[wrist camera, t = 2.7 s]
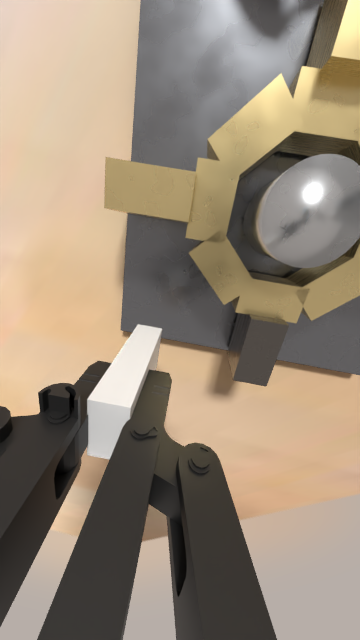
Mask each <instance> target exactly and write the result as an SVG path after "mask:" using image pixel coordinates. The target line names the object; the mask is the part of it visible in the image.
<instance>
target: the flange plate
mask: <svg viewBox="0 0 360 640" xmlns="http://www.w3.org/2000/svg"><path fill="white" fill-rule="evenodd" d="M323 3H324V0H141V6H140V22H139V39H138V55H137V72H136V88H135V104H134V121H133V137H132V154H131V161H132V162H138V163H144V164H150V165H157V166H163V167H169V168H175V169H181V170H187V171H194V172H196V167H197V160H198V158H205V159H208V158H207V139H208V138H209V137H210V136H212V135H213V134H214V133H215V132H216V131H217V130H218V129H219V128H221V127H222V126H223V125H224V124H225V123H226V122H227V121H228V120H229V119H231V118H232V117H233V116H234V115H235V114H236V113H237V112H238V111H240V110H241V109H242V108H243V107H244V106H245V105H246V104H247V103H248V102H250V101H251V100H252V99H253V98H254V97H255V96H256V95H257V94H259V93H260V92H261V91H262V90H263V89H264V88H265V87H266V86H267V85H269V84H270V83H271V82H272V81H273V80H274V79H275V78H276V77H277V76H279V75H280V74H282V76H283V78H284V80H285V83H286V85H287V87H288V89H289V87H290V85H291V83H292V82H293V80H294V78H295V77H296V75H297V73H298V72H299V70H300V68H301V67H302V66H306V65H307V61H308V58H309V54H310V50H311V47H312V43H313V40H314V36H315V32H316V29H317V25H318V21H319V18H320V14H321V11H322V7H323ZM187 224H188V223H182V222H176V221H170V220H165V219H159V218H153V217H147V216H141V215H135V214H129V213H128V219H127V236H126V252H125V269H124V285H123V302H122V318H121V330H122V331H127V332H133V331H134V329H135V328H136V326H137V325H138V324H139V325H145V326H151V327H156V328H162V334H161V338H165V339H170V340H175V341H181V342H186V343H191V344H197V345H202V346H207V347H213V348H218V349H223V350H228V348H229V344H230V341H231V337H232V333H233V330H234V326H235V322H236V319H237V315H238V313H236V312H235V310H234V308H233V305H232V302H231V301H230V302H228V303H227V304H225V305H224V304H223V303H222V301H221V300H220V299H219V297H218V296H217V294H216V293H215V291H214V290H213V288H212V287H211V285H210V284H209V282H208V281H207V279H206V278H205V276H204V275H203V274H202V272H201V271H200V269H199V268H198V266H197V265H196V263H195V262H194V260H193V259H192V257H191V256H190V254H189V252H190V250H191V249H192V248H194V247H195V246H196V245H198V244H199V243H200V242H202V241H201V240H195V239H189V238H185V237H186V231H187ZM226 237H227V238H228V240H229V242H230V243H231V245H232V247H233V248H234V250H235V251H236V253H237V255H238V256H239V258H240V259H241V261H242V263H243V264H244V266H245V268H246V269H247V271H248V272H254V273H259V274H265V275H271V276H276V277H282V278H287V277H289V276H291V275H292V274H294V273H296V272H297V271H299V270H300V269H302V268H312V267H318V266H321V265H324V264H327V263H330V262H331V261H333V260H335V259H337V258H339V257H340V256H342V255H343V254H344V253H345V252H347V251H348V250H349V249H350V248H351V247H352V246H353V245H354V244H355V243H356V241H357V240H358V239H359V237H360V166H359V165H358V164H357V163H356V162H355V161H353V160H352V159H350V158H347V157H345V156H342V155H338V154H320V155H316V156H306V155H300V154H294V153H287V152H281V151H276V152H274V153H273V154H272V155H271V156H269V157H268V158H267V159H266V160H264V161H263V162H262V163H260V164H259V165H258V166H257V167H255V168H254V169H253V170H252V171H250V172H249V173H248V174H247V175H245V176H244V177H243V178H242V179H240V180H239V181H238V184H237V189H236V193H235V198H234V202H233V207H232V211H231V216H230V220H229V225H228V229H227V234H226ZM287 324H288V325H289V328H288V330H287V333H286V336H285V338H284V341H283V344H282V346H281V349H280V351H279V354H278V357H277V360H282V361H287V362H293V363H298V364H303V365H309V366H314V367H319V368H325V369H330V370H335V371H340V372H346V373H351V374H356V375H360V296H358V297H356V298H354V299H352V300H350V301H348V302H346V303H344V304H343V305H341V306H339V307H337V308H335V309H333V310H331V311H329V312H327V313H325V314H324V315H322V316H320V317H318V318H316V319H314V320H312V321H311V320H309V319H308V318H307V317H306V316H305V315H303V314H302V313H300V316H299V318H298V321H297V323H291V322H287Z"/></svg>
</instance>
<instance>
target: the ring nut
mask: <svg viewBox="0 0 360 640" xmlns="http://www.w3.org/2000/svg"><path fill="white" fill-rule="evenodd" d="M276 151H281V152H287V153H294V154H300V155H306V156H316V155H320V154H338V155H342V156H345V157H347V158H350V159H352V160H353V161H355V162H356V163H357V164H358V165H359V166H360V0H324V3H323V7H322V11H321V14H320V18H319V21H318V25H317V29H316V32H315V36H314V40H313V43H312V47H311V50H310V54H309V58H308V61H307V65H306V66H302V67H301V68H300V70H299V72H298V73H297V75H296V77H295V78H294V80H293V82H292V83H291V85H290V87H289V89H288V87H287V85H286V83H285V80H284V78H283V76H282V74H280V75H279V76H277V77H276V78H275V79H274V80H273V81H272V82H271V83H270V84H269V85H267V86H266V87H265V88H264V89H263V90H262V91H261V92H260V93H259V94H257V95H256V96H255V97H254V98H253V99H252V100H251V101H250V102H248V103H247V104H246V105H245V106H244V107H243V108H242V109H241V110H240V111H238V112H237V113H236V114H235V115H234V116H233V117H232V118H231V119H229V120H228V121H227V122H226V123H225V124H224V125H223V126H222V127H221V128H219V129H218V130H217V131H216V132H215V133H214V134H213V135H212V136H210V137H209V138H208V139H207V158H208V159H205V158H198V160H197V167H196V172H194V171H187V170H181V169H175V168H169V167H163V166H157V165H150V164H144V163H138V162H132V161H126V160H120V159H113V158H107V157H106V165H105V206H104V208H107V209H111V210H116V211H120V212H124V213H129V214H135V215H141V216H147V217H153V218H159V219H165V220H170V221H176V222H182V223H188V224H187V231H186V237H185V238H189V239H195V240H201V241H202V242H200V243H199V244H198V245H196V246H195V247H194V248H192V249H191V250H190V252H189V254H190V256H191V257H192V259H193V260H194V262H195V263H196V265H197V266H198V268H199V269H200V271H201V272H202V274H203V275H204V276H205V278H206V279H207V281H208V282H209V284H210V285H211V287H212V288H213V290H214V291H215V293H216V294H217V296H218V297H219V299H220V300H221V301H222V303H223V304H224V305H225V304H227V303H228V302H230V301H231V302H232V305H233V308H234V310H235V312H236V313H238V315H237V319H236V322H235V326H234V330H233V333H232V337H231V341H230V344H229V348H228V351H227V353H228V358H229V363H230V368H231V373H232V379H233V380H235V381H240V382H246V383H251V384H256V385H261V386H267V383H268V380H269V378H270V375H271V373H272V370H273V367H274V365H275V362H276V359H277V357H278V354H279V351H280V349H281V346H282V344H283V341H284V338H285V336H286V333H287V330H288V328H289V325H288V324H287V322H291V323H297V321H298V318H299V316H300V313H302V314H303V315H305V316H306V317H307V318H308V319H309V320H311V321H312V320H314V319H316V318H318V317H320V316H322V315H324V314H325V313H327V312H329V311H331V310H333V309H335V308H337V307H339V306H341V305H343V304H344V303H346V302H348V301H350V300H352V299H354V298H356V297H358V296H360V237H359V239H358V240H357V241H356V243H355V244H354V245H353V246H352V247H351V248H350V249H349V250H348V251H347V252H345V253H344V254H343V255H342V256H340V257H339V258H337V259H335V260H333V261H331V262H330V263H327V264H324V265H321V266H318V267H312V268H302V269H300V270H299V271H297V272H296V273H294V274H292V275H291V276H289V277H287V278H282V277H276V276H271V275H265V274H259V273H254V272H248V271H247V269H246V268H245V266H244V264H243V263H242V261H241V259H240V258H239V256H238V255H237V253H236V251H235V250H234V248H233V247H232V245H231V243H230V242H229V240H228V238H227V237H226V234H227V229H228V225H229V220H230V216H231V211H232V207H233V202H234V198H235V193H236V189H237V184H238V181H239V180H240V179H242V178H243V177H244V176H245V175H247V174H248V173H249V172H250V171H252V170H253V169H254V168H255V167H257V166H258V165H259V164H260V163H262V162H263V161H264V160H266V159H267V158H268V157H269V156H271V155H272V154H273V153H274V152H276Z"/></svg>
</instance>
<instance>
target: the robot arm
mask: <svg viewBox="0 0 360 640" xmlns="http://www.w3.org/2000/svg"><path fill="white" fill-rule="evenodd" d="M161 334H162V328H156V327H151V326H145V325H139V324H138V325H137V326H136V328H135V329H134V331H133V332H132V334H131V335H130V337H129V338H128V340H127V341H126V343H125V344H124V346H123V347H122V349H121V350H120V352H119V353H118V355H117V356H116V358H115V359H114V361H113V362H112V363H108V362H102V361H97V362H96V363H94V364H92V365H90V366H89V367H88V369H87V370H86V371H85V372H84V374H83V375H82V376H81V377H80V378H79V380H78V381H77V382H76V383H75V384H74V385H72V384H69V383H59V384H53V385H50V386H48V387H46V388H44V389H42V390H41V391H40V392H38V395H39V404H40V413H39V414H37V415H30V416H17V417H11V415H10V411H9V410H8V409H7V408H6V407H2V406H0V626H1V625H2V622H3V621H4V619H5V616H6V615H7V613H8V611H9V609H10V607H11V605H12V603H13V601H14V599H15V597H16V595H17V593H18V591H19V589H20V587H21V585H22V583H23V581H24V579H25V577H26V575H27V573H28V571H29V569H30V567H31V565H32V563H33V561H34V559H35V557H36V555H37V553H38V551H39V549H40V547H41V545H42V543H43V541H44V539H45V537H46V535H47V533H48V531H49V529H50V527H51V526H52V524H53V522H54V520H55V518H56V516H57V514H58V512H59V510H60V508H61V506H62V504H63V502H64V500H65V498H66V496H67V494H68V492H69V490H70V488H71V486H72V484H73V482H74V480H75V478H76V476H77V474H78V472H79V470H80V466H81V457H82V455H83V453H84V451H85V449H86V447H87V455H90V456H95V457H100V458H105V459H110V460H109V462H108V465H107V467H106V470H105V472H104V475H103V477H102V480H101V482H100V485H99V487H98V490H97V492H96V495H95V497H94V500H93V502H92V505H91V507H90V510H89V512H88V515H87V517H86V520H85V522H84V525H83V527H82V530H81V532H80V535H79V537H78V540H77V542H76V544H75V547H74V550H73V552H72V555H71V557H70V560H69V562H68V564H67V567H66V569H65V572H64V574H63V577H62V579H61V582H60V584H59V587H58V589H57V592H56V594H55V597H54V599H53V602H52V604H51V607H50V609H49V612H48V614H47V617H46V619H45V622H44V624H43V627H42V629H41V632H40V634H39V636H38V639H37V640H123V635H124V630H125V625H126V620H127V614H128V609H129V603H130V599H131V594H132V588H133V583H134V578H135V573H136V567H137V563H138V557H139V552H140V546H141V542H142V537H143V532H144V526H145V521H146V516H147V511H148V506H149V504H150V505H151V506H153V507H154V508H156V509H157V510H159V511H160V512H162V513H163V514H165V515H166V516H167V526H168V539H169V551H170V564H171V577H172V589H173V602H174V615H175V628H176V640H277V638H276V635H275V632H274V629H273V626H272V623H271V620H270V616H269V613H268V610H267V607H266V604H265V601H264V598H263V595H262V591H261V588H260V585H259V582H258V579H257V576H256V573H255V570H254V566H253V563H252V560H251V557H250V554H249V550H248V547H247V544H246V541H245V538H244V535H243V532H242V529H241V525H240V522H239V519H238V516H237V513H236V510H235V507H234V503H233V500H232V497H231V494H230V491H229V488H228V485H227V481H226V478H225V475H224V472H223V469H222V466H221V463H220V460H219V458H218V456H217V454H216V453H215V452H214V451H213V450H212V449H211V448H210V447H208V446H206V445H204V444H200V443H192V444H188V445H186V446H185V447H184V446H182V445H180V444H178V443H176V442H175V441H174V440H172V439H171V438H170V437H169V436H168V435H167V433H166V431H165V428H164V421H165V416H166V411H167V406H168V400H169V394H170V389H171V383H172V380H171V377H170V374H169V373H165V372H160V371H156V367H157V362H158V355H159V348H160V341H161Z"/></svg>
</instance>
